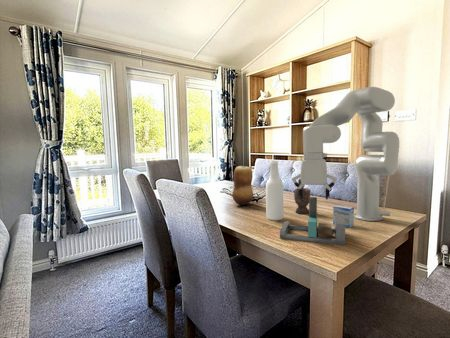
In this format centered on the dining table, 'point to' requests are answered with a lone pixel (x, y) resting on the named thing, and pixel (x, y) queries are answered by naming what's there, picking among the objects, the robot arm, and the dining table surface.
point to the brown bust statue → (302, 200)
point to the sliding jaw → (312, 217)
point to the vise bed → (338, 231)
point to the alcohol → (274, 194)
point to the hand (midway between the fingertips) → (314, 198)
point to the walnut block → (324, 230)
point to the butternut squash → (242, 185)
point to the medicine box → (344, 214)
